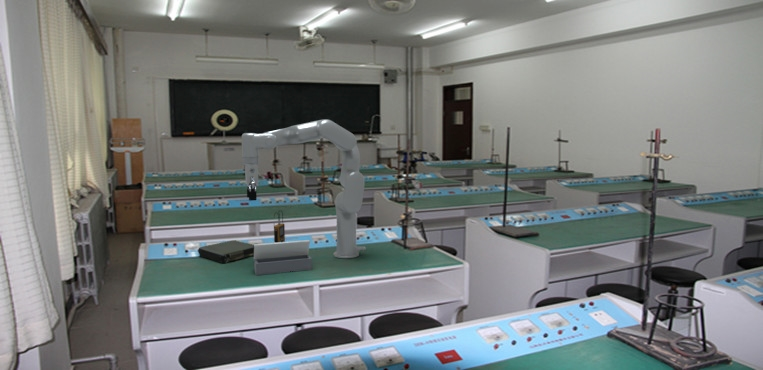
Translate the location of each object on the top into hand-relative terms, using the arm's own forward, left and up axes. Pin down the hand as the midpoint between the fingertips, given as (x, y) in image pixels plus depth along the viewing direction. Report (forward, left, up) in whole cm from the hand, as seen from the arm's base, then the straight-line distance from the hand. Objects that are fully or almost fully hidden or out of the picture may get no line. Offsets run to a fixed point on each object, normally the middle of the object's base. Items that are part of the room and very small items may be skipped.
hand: (251, 198), depth 216 cm
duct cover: (-11, +12, -22) cm, 27 cm away
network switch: (+10, -19, -31) cm, 38 cm away
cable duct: (-11, +14, -30) cm, 35 cm away
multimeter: (-18, -20, -31) cm, 41 cm away
